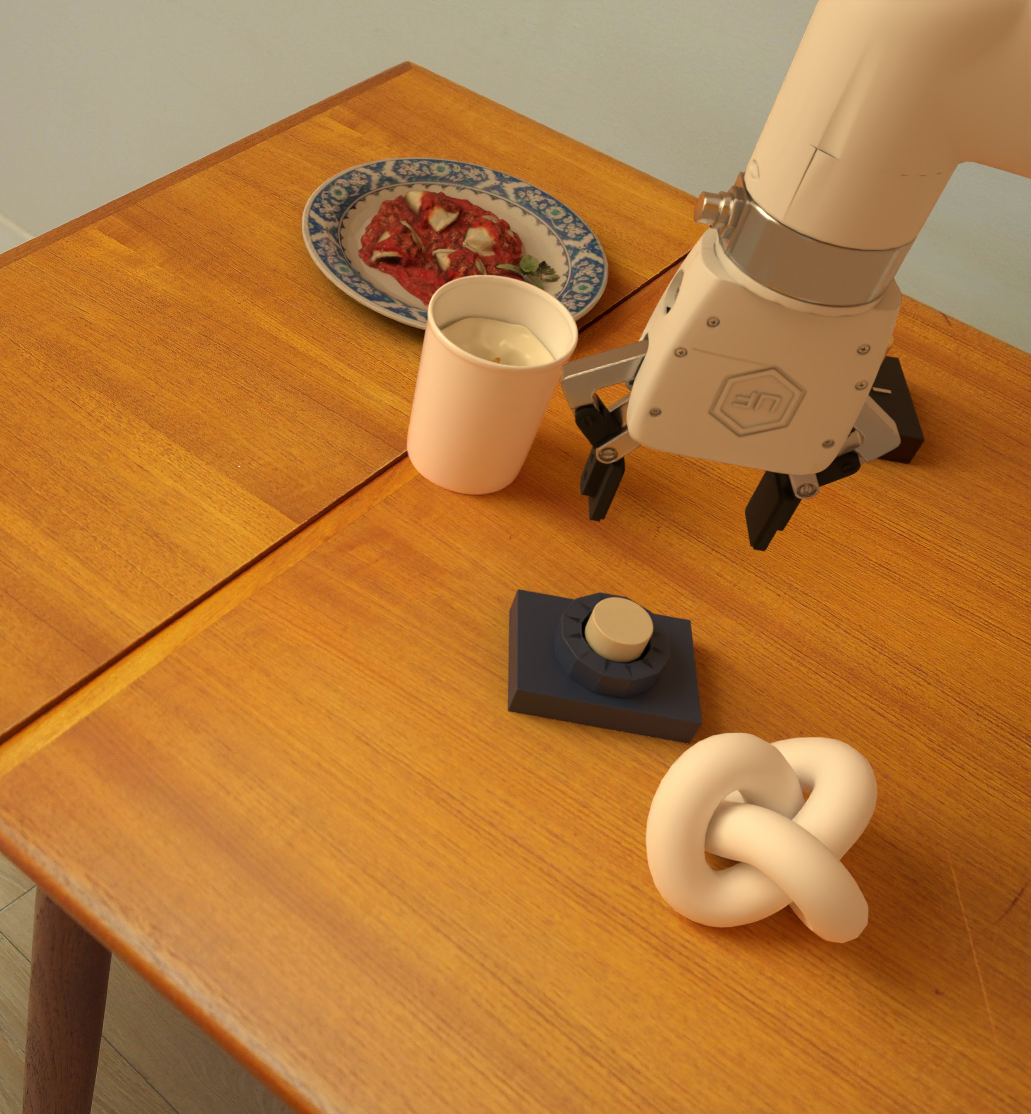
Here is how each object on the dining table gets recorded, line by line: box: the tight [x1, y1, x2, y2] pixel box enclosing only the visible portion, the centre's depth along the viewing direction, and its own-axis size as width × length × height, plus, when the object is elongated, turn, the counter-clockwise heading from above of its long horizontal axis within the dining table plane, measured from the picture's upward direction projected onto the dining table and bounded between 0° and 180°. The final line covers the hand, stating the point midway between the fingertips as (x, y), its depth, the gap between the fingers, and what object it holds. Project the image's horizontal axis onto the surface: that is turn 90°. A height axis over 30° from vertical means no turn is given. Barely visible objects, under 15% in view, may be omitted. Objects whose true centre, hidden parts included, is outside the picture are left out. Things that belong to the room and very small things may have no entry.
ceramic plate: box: [301, 156, 609, 331], centre depth 105 cm, size 26×26×3 cm
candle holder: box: [406, 275, 579, 496], centre depth 86 cm, size 10×10×12 cm
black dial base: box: [848, 355, 926, 465], centre depth 98 cm, size 12×10×3 cm
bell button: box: [585, 597, 653, 662], centre depth 74 cm, size 4×4×2 cm
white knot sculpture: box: [645, 732, 879, 944], centre depth 66 cm, size 11×12×9 cm
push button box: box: [507, 588, 703, 745], centre depth 76 cm, size 11×8×4 cm
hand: (674, 516), depth 67 cm, fingers open, 8 cm apart
